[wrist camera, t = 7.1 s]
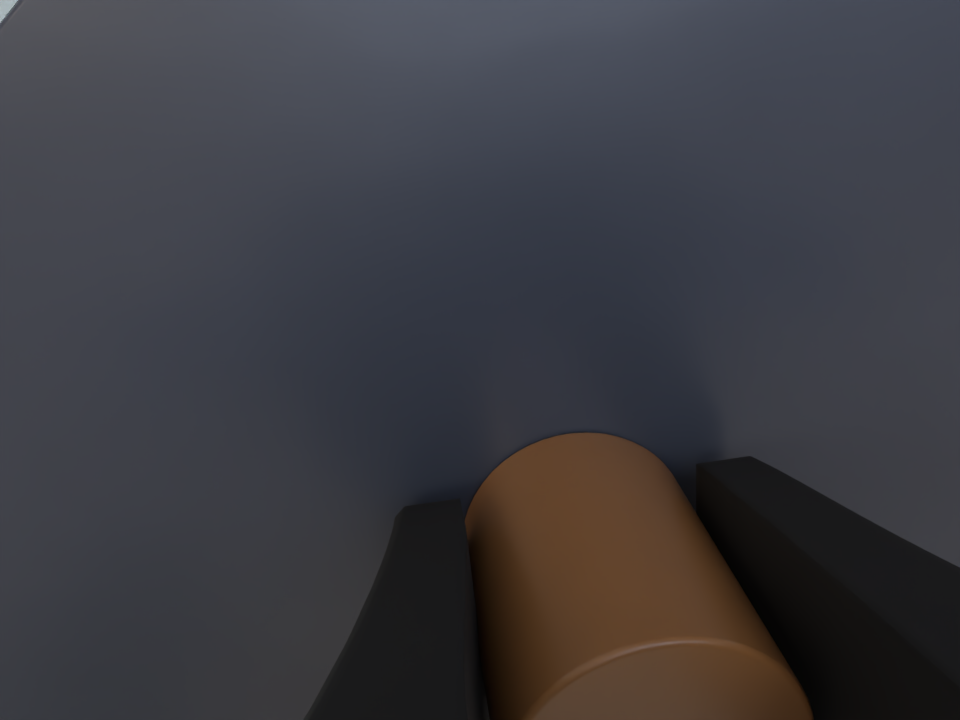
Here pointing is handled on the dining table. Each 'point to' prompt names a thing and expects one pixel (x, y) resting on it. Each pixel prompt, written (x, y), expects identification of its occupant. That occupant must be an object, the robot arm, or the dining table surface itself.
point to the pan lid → (457, 331)
